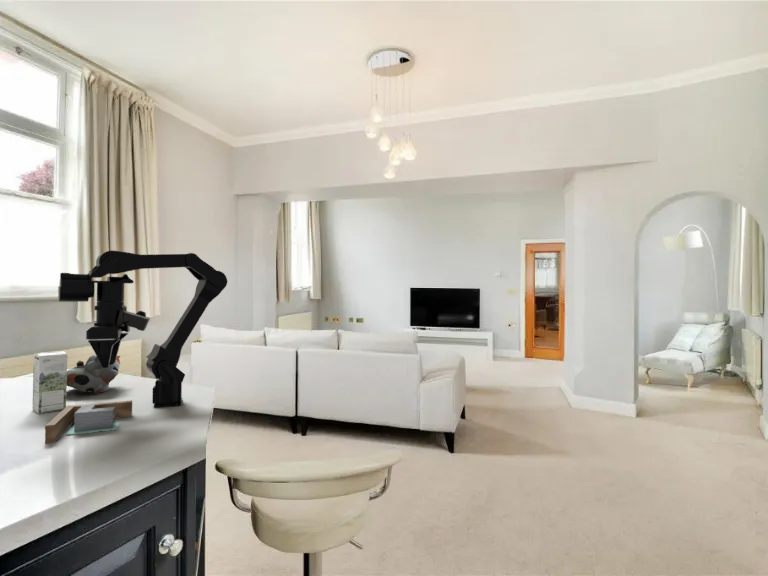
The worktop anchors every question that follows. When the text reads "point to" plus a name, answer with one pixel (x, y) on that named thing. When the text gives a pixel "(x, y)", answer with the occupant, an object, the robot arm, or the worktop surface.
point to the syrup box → (49, 381)
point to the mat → (92, 430)
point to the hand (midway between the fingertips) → (109, 364)
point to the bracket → (93, 418)
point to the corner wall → (67, 417)
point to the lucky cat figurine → (92, 375)
